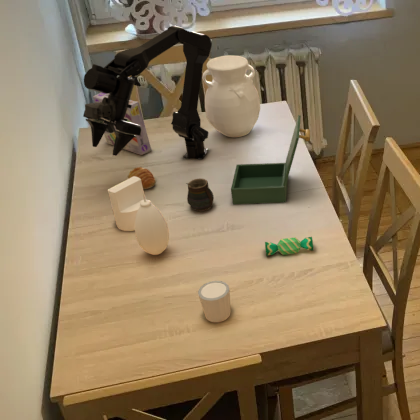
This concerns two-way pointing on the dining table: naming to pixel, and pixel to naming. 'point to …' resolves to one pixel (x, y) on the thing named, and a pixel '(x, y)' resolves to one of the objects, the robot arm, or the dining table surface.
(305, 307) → the dining table surface
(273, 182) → the green open box
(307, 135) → the green box lid
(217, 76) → the cream handled vase
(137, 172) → the pastry
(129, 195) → the base with upright slab
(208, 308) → the white cylinder
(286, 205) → the dining table surface
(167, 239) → the bulb air blower
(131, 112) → the cake pan box
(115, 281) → the dining table surface
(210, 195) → the mate gourd
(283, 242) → the candy
